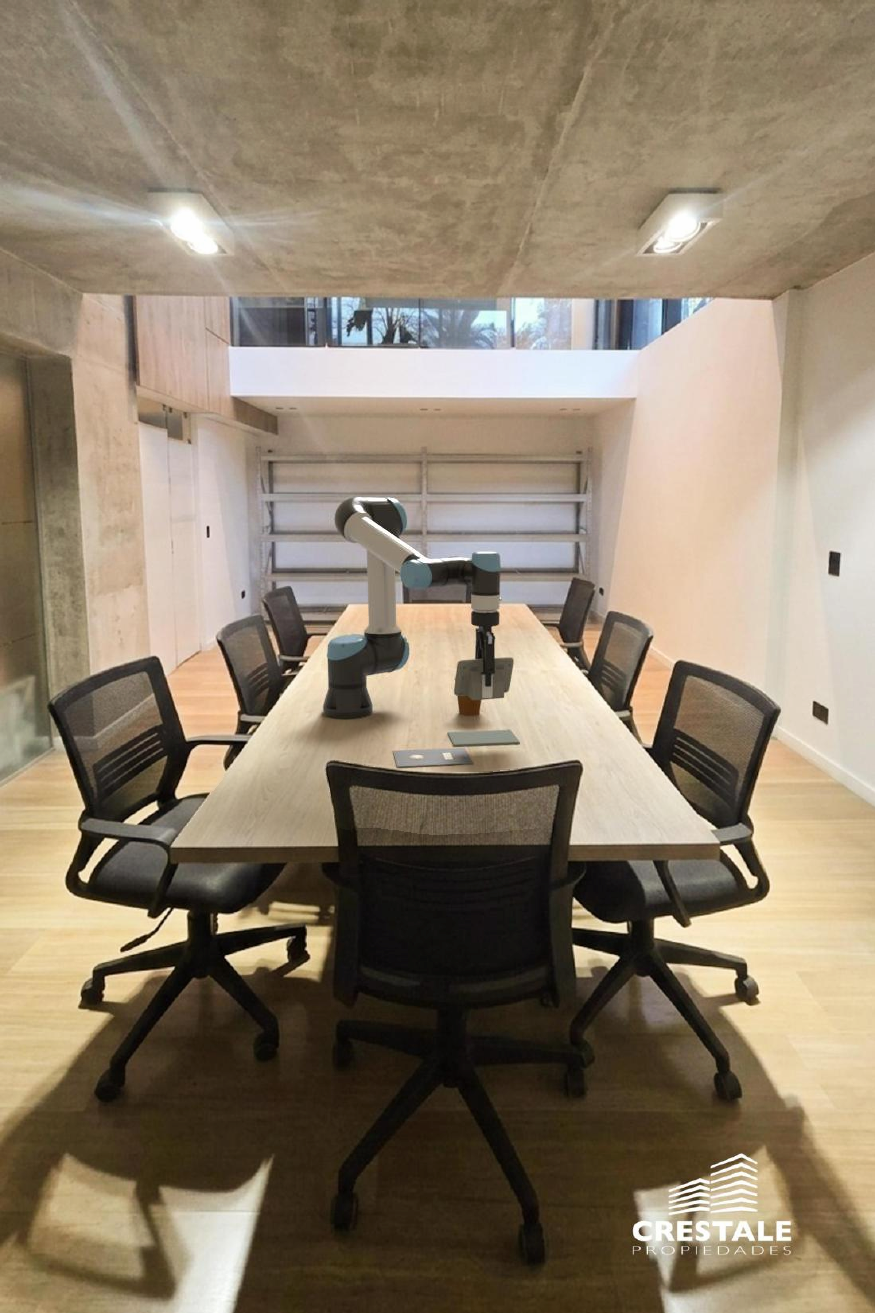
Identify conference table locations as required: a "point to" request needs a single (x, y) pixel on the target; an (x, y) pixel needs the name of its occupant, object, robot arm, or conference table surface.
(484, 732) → the side mat
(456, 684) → the digital clock
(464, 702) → the disposable coffee cup
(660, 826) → the conference table surface
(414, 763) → the gray plate
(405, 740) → the conference table surface
